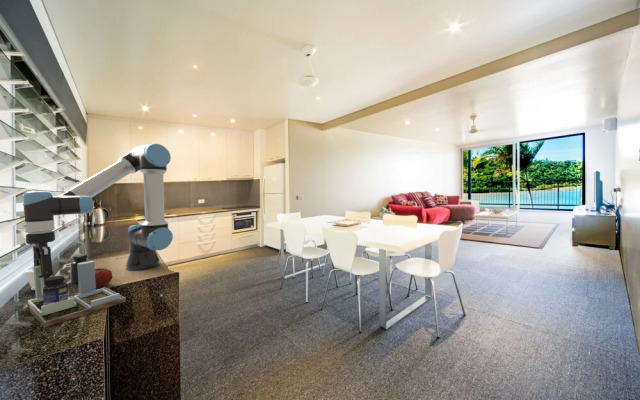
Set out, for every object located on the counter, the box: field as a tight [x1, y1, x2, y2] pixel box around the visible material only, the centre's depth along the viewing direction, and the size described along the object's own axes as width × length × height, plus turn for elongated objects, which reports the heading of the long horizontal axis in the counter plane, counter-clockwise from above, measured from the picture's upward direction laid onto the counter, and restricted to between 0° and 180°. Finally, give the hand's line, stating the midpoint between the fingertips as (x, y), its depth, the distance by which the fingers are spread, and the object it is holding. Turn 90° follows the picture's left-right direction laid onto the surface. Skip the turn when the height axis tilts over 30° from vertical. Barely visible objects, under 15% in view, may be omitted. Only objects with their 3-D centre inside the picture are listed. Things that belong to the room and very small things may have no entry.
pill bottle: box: [43, 275, 69, 306], centre depth 91 cm, size 6×6×11 cm
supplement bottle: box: [69, 253, 90, 284], centre depth 119 cm, size 7×7×12 cm
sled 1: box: [27, 266, 78, 317], centre depth 94 cm, size 9×21×13 cm, turn 57°
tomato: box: [95, 267, 113, 288], centre depth 112 cm, size 9×9×8 cm
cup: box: [25, 268, 35, 291], centre depth 113 cm, size 7×10×8 cm
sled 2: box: [72, 260, 121, 308], centre depth 98 cm, size 9×21×13 cm, turn 57°
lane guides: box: [29, 286, 127, 328], centre depth 93 cm, size 21×20×2 cm
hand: (44, 290), depth 99 cm, fingers open, 8 cm apart
